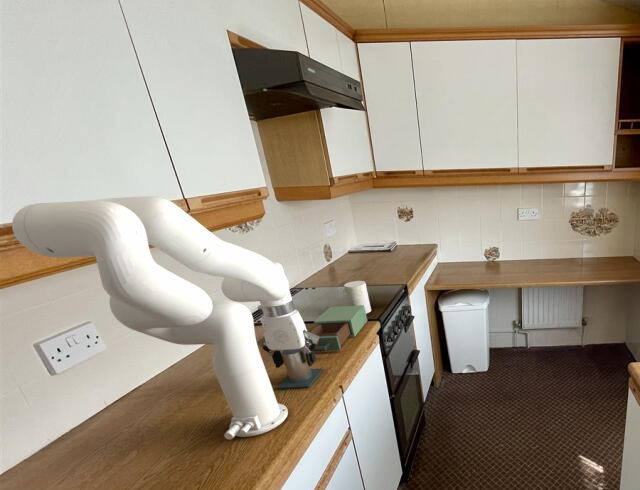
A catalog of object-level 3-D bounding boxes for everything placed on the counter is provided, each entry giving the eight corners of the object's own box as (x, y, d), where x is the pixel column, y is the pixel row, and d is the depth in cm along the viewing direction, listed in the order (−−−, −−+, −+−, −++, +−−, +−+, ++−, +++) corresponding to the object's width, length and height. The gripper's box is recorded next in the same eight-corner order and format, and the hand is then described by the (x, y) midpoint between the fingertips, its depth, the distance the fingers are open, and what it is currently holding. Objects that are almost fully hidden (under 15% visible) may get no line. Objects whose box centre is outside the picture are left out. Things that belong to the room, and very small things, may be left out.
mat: (308, 387, 115) (308, 386, 114) (277, 389, 115) (276, 387, 114) (323, 370, 124) (322, 368, 123) (294, 371, 124) (293, 369, 123)
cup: (346, 314, 165) (339, 286, 160) (357, 307, 173) (351, 280, 167) (364, 315, 164) (357, 287, 158) (374, 308, 171) (369, 281, 166)
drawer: (334, 356, 130) (330, 343, 127) (297, 358, 130) (293, 345, 128) (353, 333, 146) (350, 320, 144) (321, 334, 146) (317, 322, 144)
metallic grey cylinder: (306, 382, 116) (298, 354, 113) (286, 383, 116) (276, 355, 113) (315, 371, 122) (307, 344, 118) (295, 372, 122) (287, 345, 118)
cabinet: (354, 336, 145) (350, 319, 142) (318, 338, 145) (313, 321, 142) (367, 320, 158) (364, 305, 156) (334, 322, 158) (330, 306, 156)
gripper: (238, 315, 106) (259, 372, 114) (304, 312, 106) (320, 369, 113) (254, 305, 113) (273, 360, 120) (316, 302, 113) (331, 357, 120)
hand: (296, 364), depth 117 cm, fingers open, 8 cm apart
